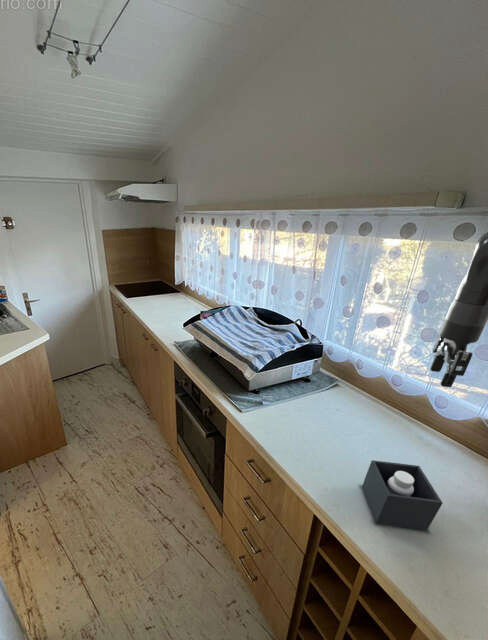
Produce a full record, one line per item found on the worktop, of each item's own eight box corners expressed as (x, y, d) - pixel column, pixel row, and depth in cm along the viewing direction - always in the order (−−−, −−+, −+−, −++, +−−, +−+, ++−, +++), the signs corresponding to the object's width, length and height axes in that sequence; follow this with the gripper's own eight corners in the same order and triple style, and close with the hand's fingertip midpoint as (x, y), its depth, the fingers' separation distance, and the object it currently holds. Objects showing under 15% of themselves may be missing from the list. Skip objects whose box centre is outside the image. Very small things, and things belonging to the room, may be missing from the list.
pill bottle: (393, 493, 81) (405, 466, 76) (410, 511, 76) (423, 483, 72) (375, 496, 80) (386, 470, 76) (391, 514, 75) (403, 487, 71)
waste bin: (406, 492, 82) (419, 465, 78) (426, 531, 73) (442, 503, 68) (361, 486, 84) (371, 460, 80) (375, 523, 75) (388, 495, 70)
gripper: (499, 331, 66) (468, 394, 74) (472, 312, 78) (447, 368, 85) (457, 327, 68) (431, 389, 76) (437, 309, 80) (416, 364, 88)
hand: (439, 378), depth 81 cm, fingers open, 8 cm apart
